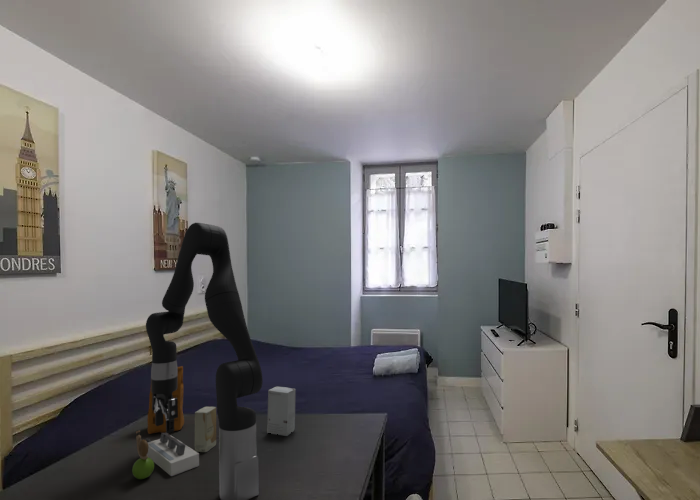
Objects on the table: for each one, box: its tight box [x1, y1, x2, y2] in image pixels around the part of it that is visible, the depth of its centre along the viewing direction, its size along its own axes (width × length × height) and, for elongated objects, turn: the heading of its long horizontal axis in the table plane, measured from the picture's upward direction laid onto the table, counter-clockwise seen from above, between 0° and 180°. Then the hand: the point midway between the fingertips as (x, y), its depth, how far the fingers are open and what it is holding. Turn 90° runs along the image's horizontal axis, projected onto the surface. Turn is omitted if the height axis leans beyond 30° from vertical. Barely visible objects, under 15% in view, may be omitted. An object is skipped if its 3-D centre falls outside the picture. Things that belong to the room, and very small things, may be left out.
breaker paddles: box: [159, 432, 186, 454], centre depth 122 cm, size 14×2×2 cm, turn 46°
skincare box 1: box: [194, 406, 217, 453], centre depth 130 cm, size 6×4×12 cm
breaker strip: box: [144, 435, 200, 477], centre depth 126 cm, size 31×8×4 cm, turn 46°
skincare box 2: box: [266, 386, 297, 437], centre depth 142 cm, size 8×6×15 cm
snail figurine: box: [131, 429, 155, 480], centre depth 112 cm, size 5×6×12 cm
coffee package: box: [147, 365, 185, 435], centre depth 148 cm, size 10×12×22 cm
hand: (164, 428), depth 126 cm, fingers open, 8 cm apart
